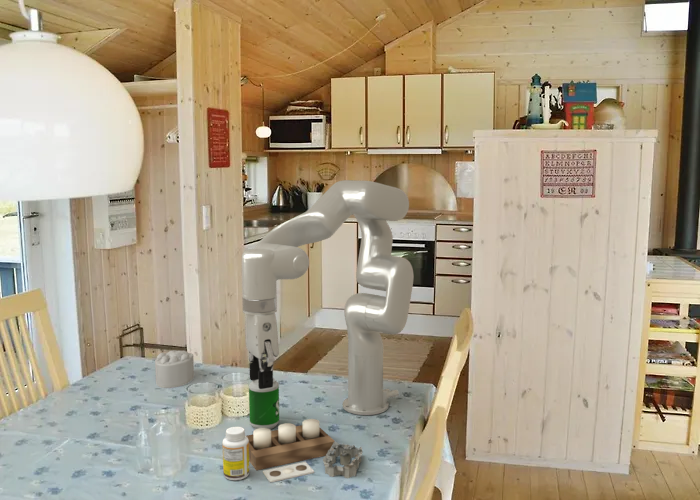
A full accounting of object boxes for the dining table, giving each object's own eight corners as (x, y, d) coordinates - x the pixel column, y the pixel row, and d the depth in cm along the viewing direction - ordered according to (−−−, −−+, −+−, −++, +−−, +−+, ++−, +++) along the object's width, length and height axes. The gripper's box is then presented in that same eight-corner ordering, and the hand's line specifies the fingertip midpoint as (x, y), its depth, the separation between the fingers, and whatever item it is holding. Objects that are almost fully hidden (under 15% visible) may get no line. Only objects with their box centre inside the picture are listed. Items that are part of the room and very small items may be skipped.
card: (305, 463, 146) (305, 461, 146) (314, 472, 142) (314, 470, 142) (262, 472, 142) (262, 470, 142) (270, 482, 137) (270, 480, 137)
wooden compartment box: (314, 434, 162) (314, 422, 161) (335, 453, 151) (335, 441, 151) (240, 449, 153) (240, 436, 153) (256, 470, 143) (255, 457, 142)
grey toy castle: (354, 481, 139) (354, 463, 138) (320, 477, 141) (320, 459, 140) (365, 458, 149) (365, 441, 148) (333, 455, 151) (333, 438, 150)
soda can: (274, 433, 163) (273, 386, 161) (245, 430, 164) (244, 384, 162) (283, 421, 170) (282, 376, 168) (255, 418, 171) (254, 374, 170)
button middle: (292, 436, 155) (292, 422, 154) (298, 442, 151) (298, 428, 150) (276, 439, 153) (275, 425, 152) (282, 446, 149) (281, 431, 149)
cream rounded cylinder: (267, 441, 152) (267, 426, 151) (273, 447, 148) (273, 433, 148) (251, 444, 150) (251, 429, 150) (256, 451, 147) (256, 436, 146)
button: (315, 431, 157) (315, 417, 157) (322, 438, 154) (322, 423, 153) (300, 434, 155) (299, 420, 155) (306, 441, 152) (306, 426, 151)
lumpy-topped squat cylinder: (197, 374, 207) (196, 348, 206) (182, 389, 194) (181, 360, 193) (166, 373, 208) (164, 347, 207) (148, 387, 195) (147, 359, 194)
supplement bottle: (238, 466, 145) (236, 422, 143) (254, 474, 141) (253, 429, 140) (217, 476, 140) (216, 430, 139) (234, 484, 137) (233, 437, 135)
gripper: (289, 311, 139) (290, 393, 141) (263, 296, 154) (264, 370, 157) (255, 314, 136) (257, 398, 138) (232, 299, 151) (234, 374, 153)
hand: (261, 382), depth 147 cm, fingers open, 5 cm apart
